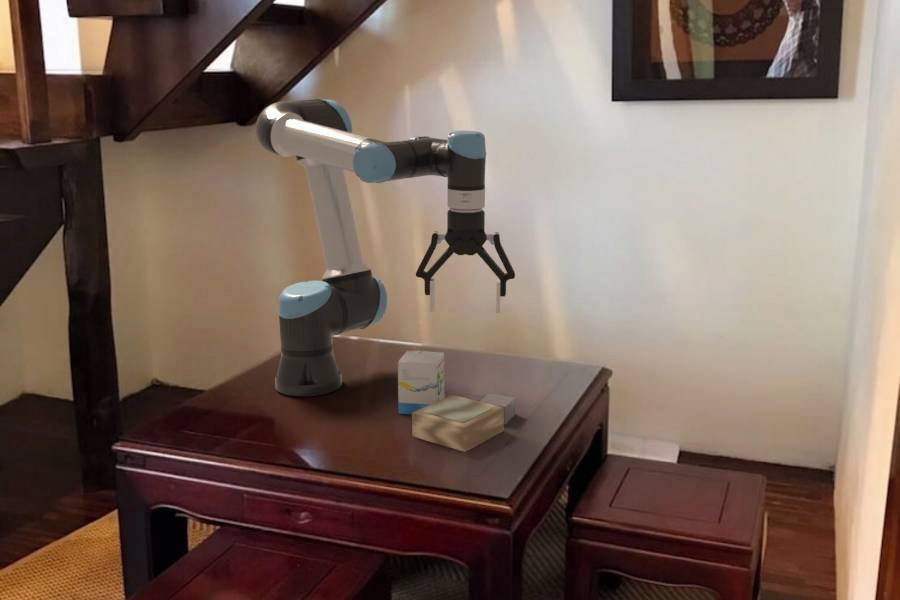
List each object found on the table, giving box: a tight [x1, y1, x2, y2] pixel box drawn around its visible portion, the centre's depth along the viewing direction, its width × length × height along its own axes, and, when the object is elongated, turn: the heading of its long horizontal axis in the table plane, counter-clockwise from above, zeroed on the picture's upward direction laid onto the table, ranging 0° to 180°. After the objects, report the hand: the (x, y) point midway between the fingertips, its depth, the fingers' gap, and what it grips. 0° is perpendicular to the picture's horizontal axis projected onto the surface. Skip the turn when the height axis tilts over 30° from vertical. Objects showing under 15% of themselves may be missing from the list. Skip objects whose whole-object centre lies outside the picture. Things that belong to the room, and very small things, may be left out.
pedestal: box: [411, 394, 505, 453], centre depth 198 cm, size 13×13×5 cm
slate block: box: [479, 393, 516, 425], centre depth 207 cm, size 6×6×4 cm
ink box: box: [397, 350, 446, 415], centre depth 211 cm, size 9×8×12 cm
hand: (465, 310), depth 206 cm, fingers open, 13 cm apart
